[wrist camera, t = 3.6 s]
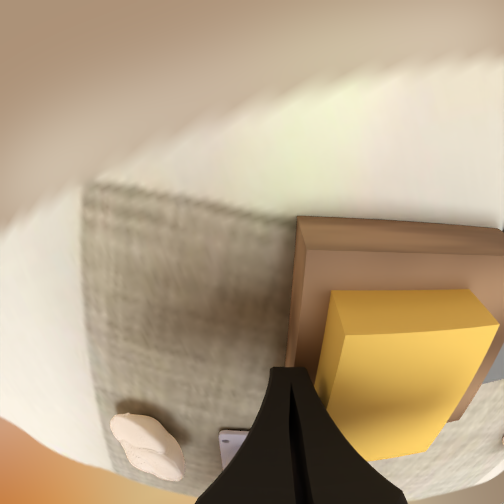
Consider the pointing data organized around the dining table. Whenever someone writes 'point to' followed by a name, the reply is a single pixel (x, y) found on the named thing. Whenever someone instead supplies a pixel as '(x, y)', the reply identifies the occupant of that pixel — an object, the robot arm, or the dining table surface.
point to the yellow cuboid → (399, 364)
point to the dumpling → (149, 446)
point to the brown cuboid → (390, 275)
